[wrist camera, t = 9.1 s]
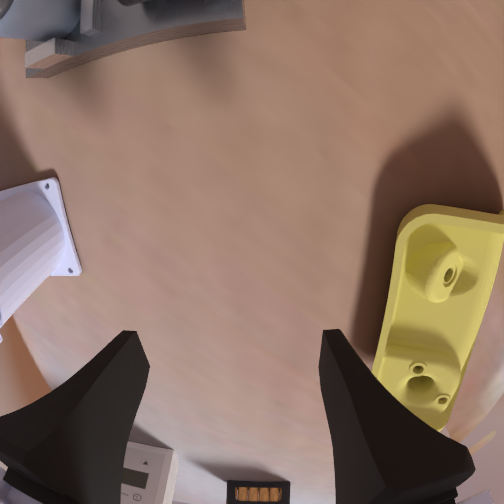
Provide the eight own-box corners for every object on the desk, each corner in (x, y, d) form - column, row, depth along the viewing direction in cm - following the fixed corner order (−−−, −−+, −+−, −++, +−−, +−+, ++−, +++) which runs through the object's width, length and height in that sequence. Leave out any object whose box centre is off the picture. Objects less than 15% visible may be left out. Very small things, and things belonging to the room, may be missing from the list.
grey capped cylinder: (41, 52, 12) (-28, 49, 6) (37, 11, 10) (-26, -1, 5) (85, 25, 11) (18, 6, 6) (80, -17, 10) (20, -43, 4)
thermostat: (174, 449, 35) (156, 539, 21) (188, 479, 41) (177, 549, 28) (99, 433, 35) (71, 512, 22) (125, 467, 41) (108, 531, 28)
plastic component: (398, 208, 16) (539, 231, 12) (400, 188, 22) (507, 204, 18) (356, 421, 24) (451, 436, 19) (371, 371, 30) (453, 384, 25)
